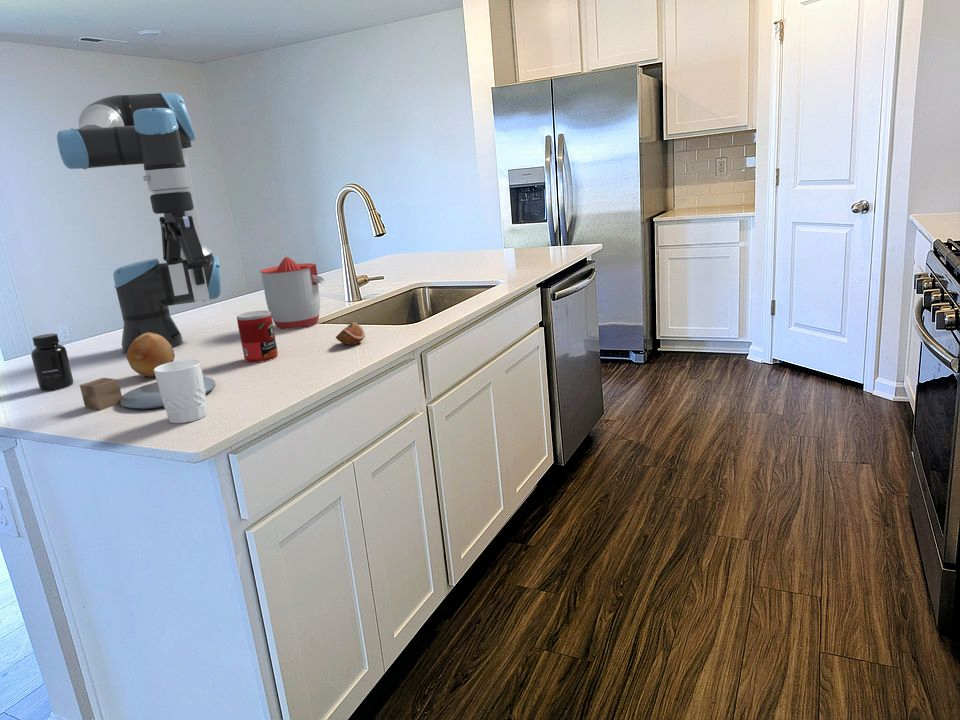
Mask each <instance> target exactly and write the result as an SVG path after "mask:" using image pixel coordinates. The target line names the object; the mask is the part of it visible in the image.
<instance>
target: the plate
mask: <svg viewBox="0 0 960 720" xmlns="http://www.w3.org/2000/svg"><path fill="white" fill-rule="evenodd" d="M203 380H204V387H205V395H206V394H207V393H210V392H211V391H212V390H213V389H214V388H215V387H216V381H215V380H214V379H213V378H211V377H207V376H203ZM120 402H121V403H120V405H121V406H122V407H125V408H129V409H157V408H164V404H163V401H162V398H161V395H160V391H159V387H158V384H157V381H156V382H152V383H148V384H145V385H142V386H139V387H136V388H134V389H131V390H129V391H128V392H126V393H124V394H123V395H122V397H121V398H120Z"/></svg>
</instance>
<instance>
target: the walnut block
mask: <svg viewBox="0 0 960 720" xmlns="http://www.w3.org/2000/svg"><path fill="white" fill-rule="evenodd" d="M79 389H80V392H81V396H82V402H83V404H84V407H85V409H87V410H93V411H94V410H95V411H104V410H107V409H109V408H111V407H114V406H117V405H121V402H120V398H121V397H122V396H123V395H122V391H121V387H120V382H119V379H116V378H109V377H101V378H98V379H95V380H92V381H89V382H88V381H87V382H85V383H82V384H79Z"/></svg>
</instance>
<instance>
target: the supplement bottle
mask: <svg viewBox="0 0 960 720" xmlns="http://www.w3.org/2000/svg"><path fill="white" fill-rule="evenodd" d="M32 342H33V347H35V348H34V349H33V350H32V351H31V352H30V353H31V354H30V355H31V360H32V364H33V368H34V372H35V377H36V380H37V383H38V388H39V389H40V390H41V391H43V390H51V391H56V390H55V389H58V390H61V389H60V388H62V389H66V388H68V387H71V386H72V385H73V384H74V377H73V373H72V370H71V365H70V361H69V356H68V351H67V349H66V347H65V346H63V345H61V344H59V342H60V340H59V336H58V334H57V333H45V334H40V335H35V336H33V337H32ZM70 385H71V386H70ZM65 387H66V388H65Z"/></svg>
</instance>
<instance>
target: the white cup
mask: <svg viewBox="0 0 960 720" xmlns="http://www.w3.org/2000/svg"><path fill="white" fill-rule="evenodd" d="M154 373H155V377H154V378H156V379H155V380H156V382H157V384H158V387H159V391H160V395H161V398H162V401H163V404H164V407H163V408H164V409H165V412H166V415H167V419H168V421H169V423H170V424H185V423H186V424H187V423H191V422H195V421H197V420H200V419H202V418H205V417H206V416H207V414H208V407H207V401H206V400H207V396H206V394H205V387H204V380H203V377H204V376H203V368H202V363H201V360H199V359H193V358H189V359H182V360H181V359H180V360H174V361H173V362H169V363H166V364H163V365H160V366H158V367H156V368H155V369H154Z"/></svg>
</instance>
